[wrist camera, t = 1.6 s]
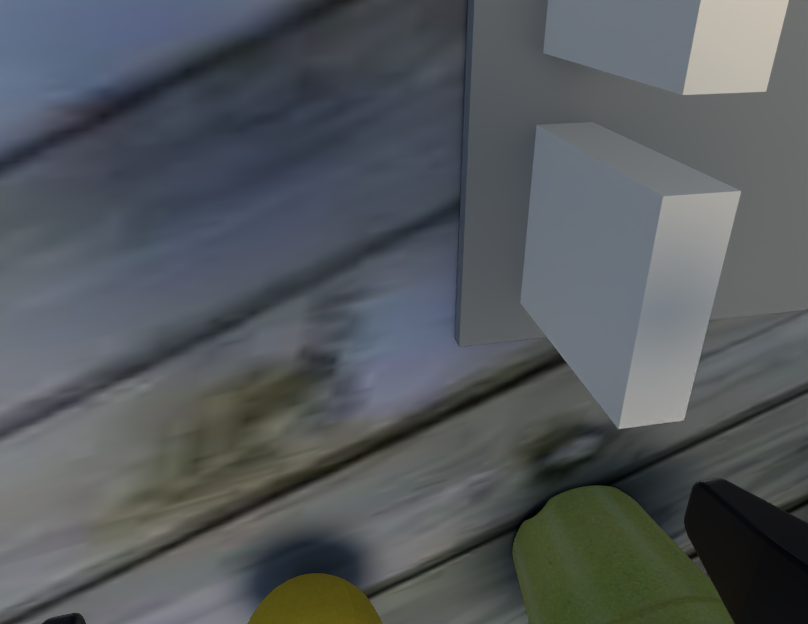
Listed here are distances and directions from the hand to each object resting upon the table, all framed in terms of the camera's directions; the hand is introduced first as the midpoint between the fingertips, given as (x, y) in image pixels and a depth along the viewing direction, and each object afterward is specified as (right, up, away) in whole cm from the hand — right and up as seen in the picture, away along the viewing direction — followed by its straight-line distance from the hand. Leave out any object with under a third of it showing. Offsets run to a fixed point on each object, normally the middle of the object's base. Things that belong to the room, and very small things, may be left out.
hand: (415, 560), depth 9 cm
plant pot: (+8, -6, +20) cm, 22 cm away
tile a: (+5, +7, +12) cm, 14 cm away
